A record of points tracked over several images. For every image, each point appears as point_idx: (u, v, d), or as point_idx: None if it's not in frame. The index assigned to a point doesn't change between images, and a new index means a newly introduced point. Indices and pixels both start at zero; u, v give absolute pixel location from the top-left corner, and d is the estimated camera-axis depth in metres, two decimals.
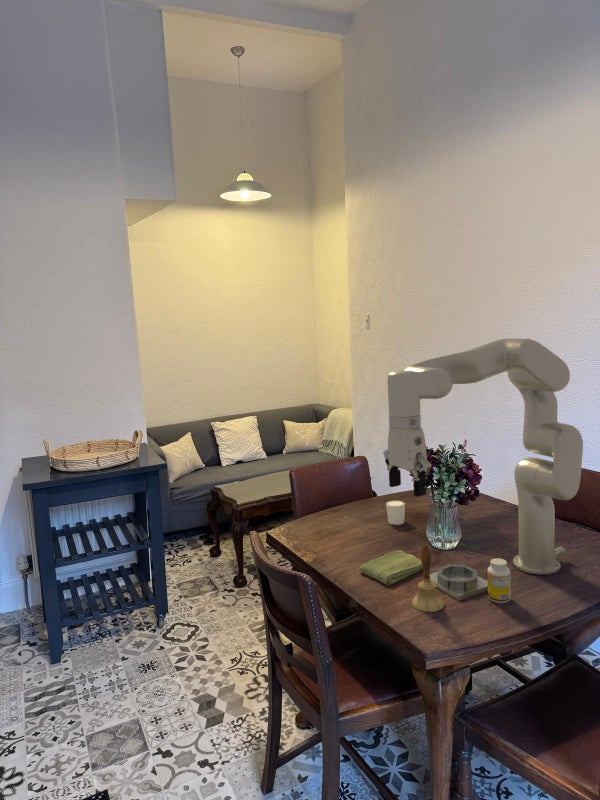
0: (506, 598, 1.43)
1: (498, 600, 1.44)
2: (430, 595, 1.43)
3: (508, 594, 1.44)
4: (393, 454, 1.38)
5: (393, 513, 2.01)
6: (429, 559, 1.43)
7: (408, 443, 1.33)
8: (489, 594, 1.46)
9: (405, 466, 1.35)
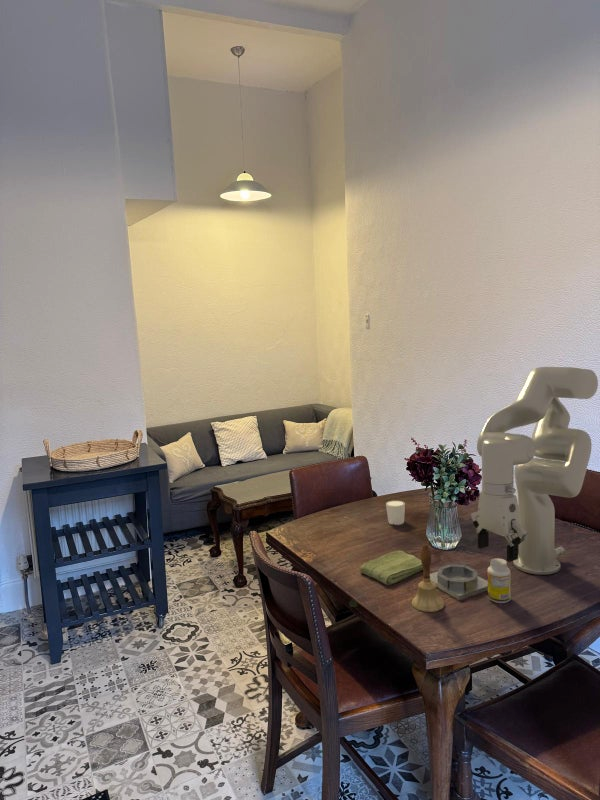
0: (506, 598, 1.43)
1: (498, 600, 1.44)
2: (430, 595, 1.43)
3: (508, 594, 1.44)
4: (485, 518, 1.43)
5: (393, 513, 2.01)
6: (429, 559, 1.43)
7: (503, 510, 1.38)
8: (489, 594, 1.46)
9: (498, 531, 1.40)
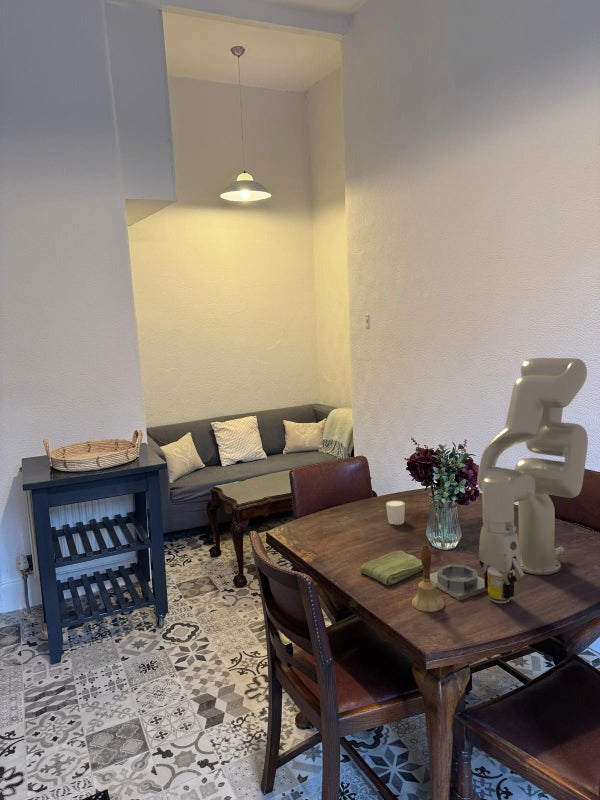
0: None
1: (498, 600, 1.44)
2: (430, 595, 1.43)
3: None
4: (486, 554, 1.45)
5: (393, 513, 2.01)
6: (429, 559, 1.43)
7: (504, 548, 1.40)
8: (489, 594, 1.46)
9: (500, 568, 1.42)
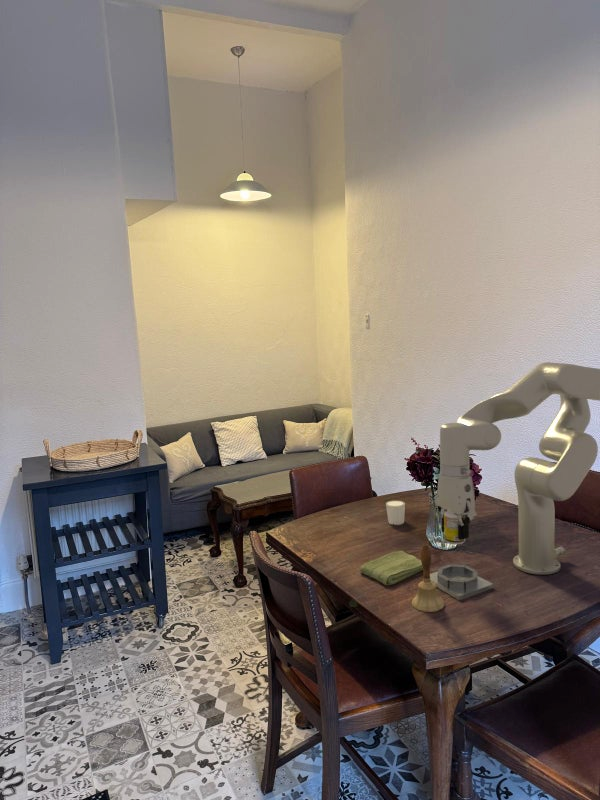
0: None
1: (453, 541, 1.51)
2: (430, 595, 1.43)
3: None
4: (443, 498, 1.53)
5: (393, 513, 2.01)
6: (429, 559, 1.43)
7: (459, 490, 1.47)
8: (445, 536, 1.53)
9: (455, 510, 1.49)
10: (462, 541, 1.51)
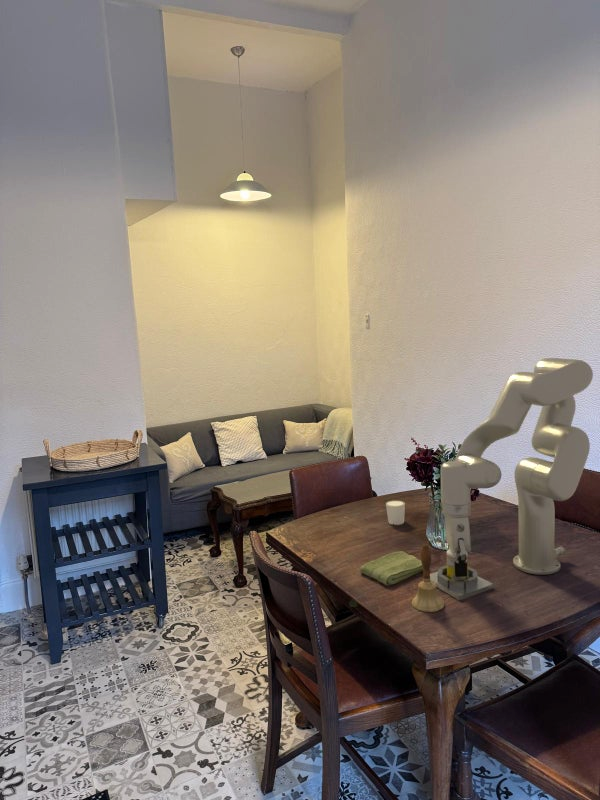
0: (458, 579, 1.53)
1: None
2: (430, 595, 1.43)
3: None
4: (446, 533, 1.56)
5: (393, 513, 2.01)
6: (429, 559, 1.43)
7: (451, 528, 1.49)
8: (447, 573, 1.56)
9: (450, 547, 1.52)
10: None
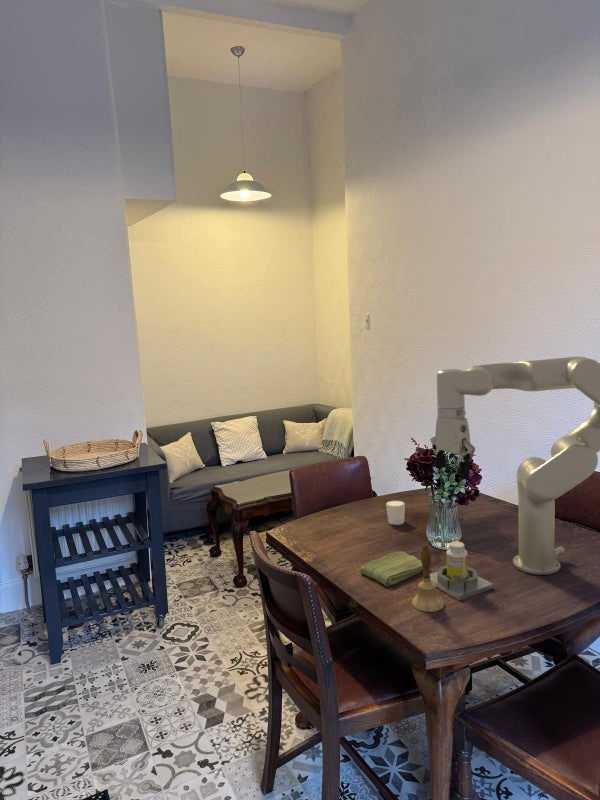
0: (458, 579, 1.53)
1: None
2: (430, 595, 1.43)
3: (461, 576, 1.52)
4: (441, 440, 1.63)
5: (393, 513, 2.01)
6: (429, 559, 1.43)
7: (455, 430, 1.58)
8: (447, 573, 1.56)
9: (452, 450, 1.60)
10: None
